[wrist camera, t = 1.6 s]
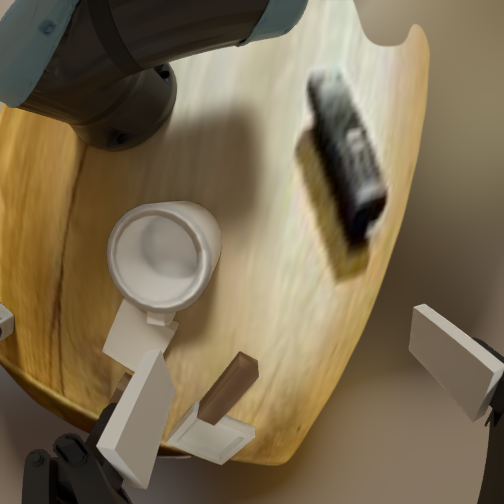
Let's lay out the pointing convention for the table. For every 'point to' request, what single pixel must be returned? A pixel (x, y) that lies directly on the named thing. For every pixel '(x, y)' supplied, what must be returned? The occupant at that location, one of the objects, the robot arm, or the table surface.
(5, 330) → the ink box
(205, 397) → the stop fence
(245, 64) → the table surface
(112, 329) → the white flat block
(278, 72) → the table surface
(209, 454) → the tray
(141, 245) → the mug
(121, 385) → the socket block
